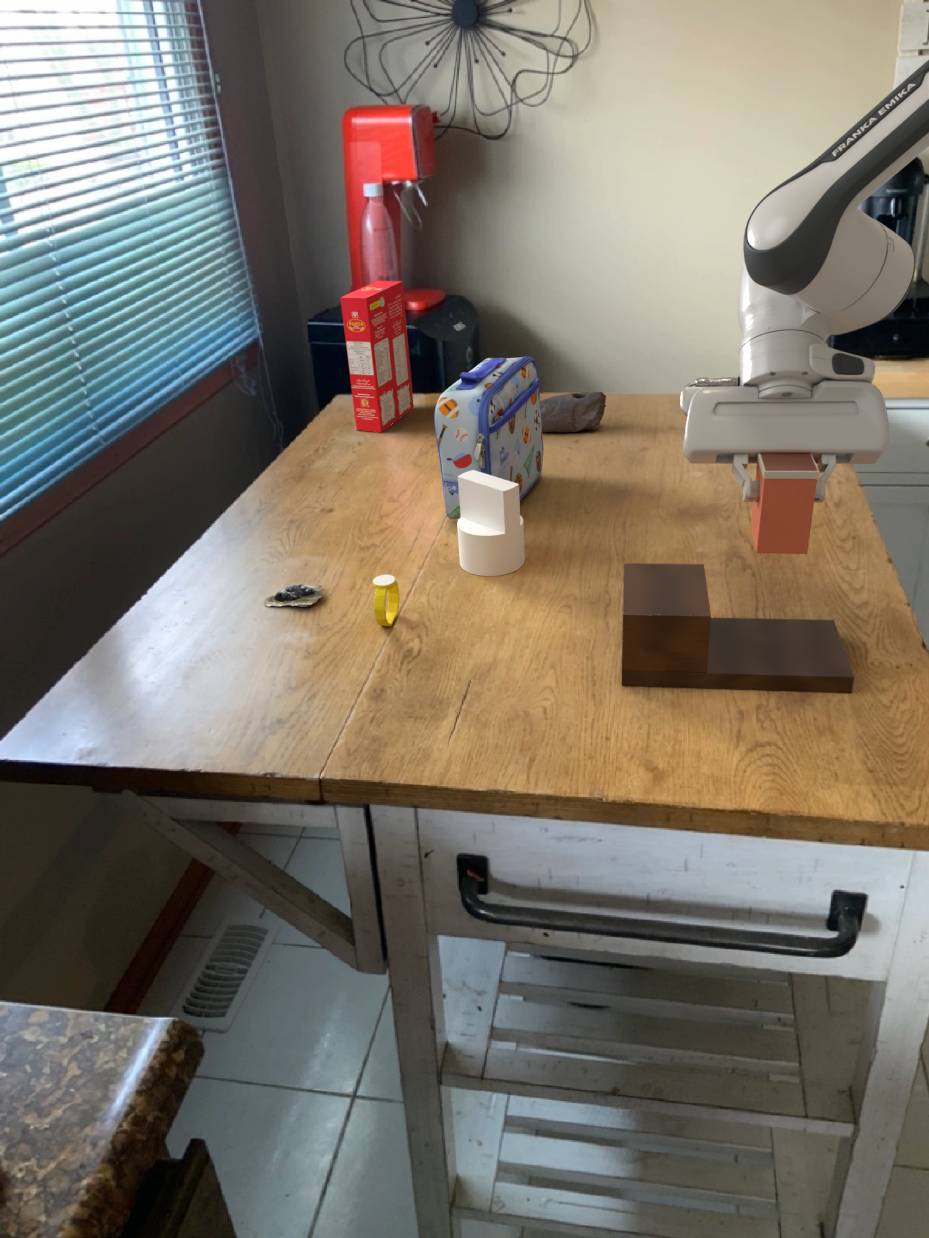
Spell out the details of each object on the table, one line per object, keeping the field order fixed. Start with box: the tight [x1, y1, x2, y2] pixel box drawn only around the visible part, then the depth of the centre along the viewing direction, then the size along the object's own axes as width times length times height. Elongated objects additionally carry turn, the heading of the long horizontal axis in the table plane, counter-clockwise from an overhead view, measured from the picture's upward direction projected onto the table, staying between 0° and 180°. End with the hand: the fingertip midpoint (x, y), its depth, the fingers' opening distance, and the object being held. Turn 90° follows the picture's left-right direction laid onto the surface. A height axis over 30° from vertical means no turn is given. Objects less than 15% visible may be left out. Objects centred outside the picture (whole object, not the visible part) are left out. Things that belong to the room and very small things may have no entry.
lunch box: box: [433, 355, 544, 520], centre depth 147 cm, size 28×10×22 cm, turn 161°
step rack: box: [620, 562, 855, 694], centre depth 107 cm, size 24×12×9 cm, turn 81°
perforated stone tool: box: [540, 391, 607, 433], centre depth 178 cm, size 15×5×7 cm, turn 87°
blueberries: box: [263, 583, 324, 608], centre depth 128 cm, size 7×8×2 cm
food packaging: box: [340, 280, 415, 433], centre depth 186 cm, size 15×5×25 cm, turn 157°
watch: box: [372, 574, 400, 627], centre depth 120 cm, size 6×3×6 cm, turn 167°
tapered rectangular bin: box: [750, 453, 820, 555], centre depth 99 cm, size 5×6×9 cm
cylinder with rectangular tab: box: [456, 470, 526, 577], centre depth 132 cm, size 9×9×12 cm
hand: (784, 500), depth 98 cm, fingers closed on tapered rectangular bin, 5 cm apart
